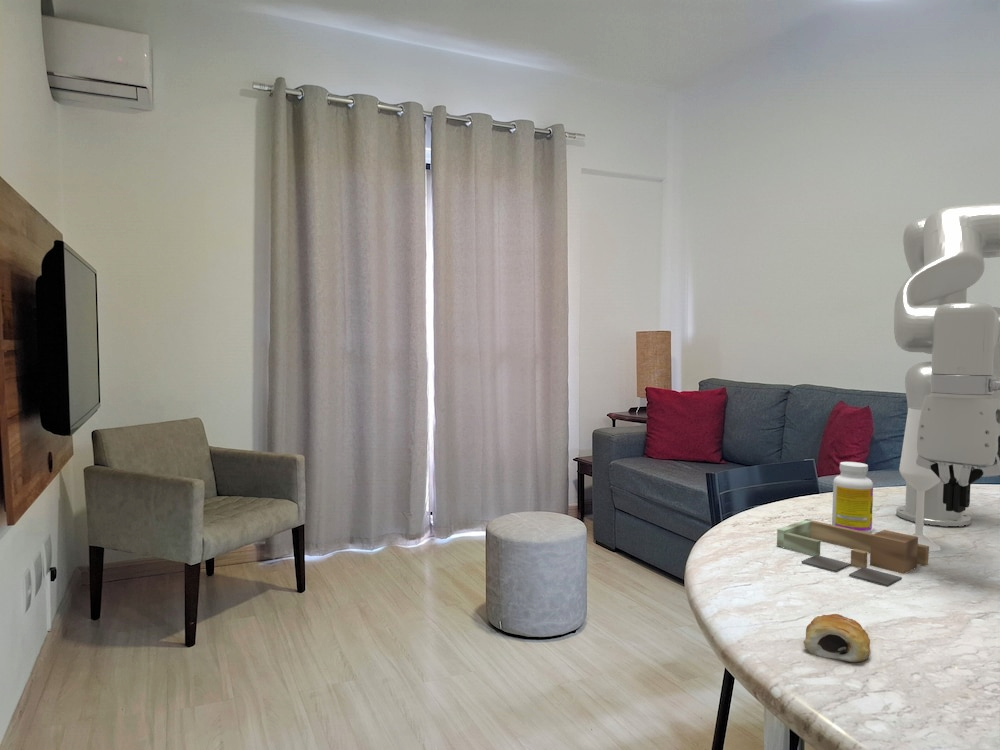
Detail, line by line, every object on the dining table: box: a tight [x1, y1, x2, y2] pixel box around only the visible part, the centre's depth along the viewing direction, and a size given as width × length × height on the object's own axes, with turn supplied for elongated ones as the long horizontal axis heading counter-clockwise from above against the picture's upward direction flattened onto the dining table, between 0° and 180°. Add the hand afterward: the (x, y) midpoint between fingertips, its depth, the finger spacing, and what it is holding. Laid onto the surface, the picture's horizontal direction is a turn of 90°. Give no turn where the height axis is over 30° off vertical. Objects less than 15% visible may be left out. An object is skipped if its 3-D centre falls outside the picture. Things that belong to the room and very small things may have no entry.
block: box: [869, 529, 918, 575], centre depth 107 cm, size 5×5×5 cm
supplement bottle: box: [831, 461, 874, 534], centre depth 126 cm, size 7×7×13 cm
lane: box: [776, 519, 930, 587], centre depth 111 cm, size 15×20×3 cm
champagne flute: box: [898, 407, 941, 552], centre depth 117 cm, size 7×7×24 cm
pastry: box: [803, 613, 871, 663], centre depth 80 cm, size 9×7×4 cm
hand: (955, 510), depth 99 cm, fingers closed
